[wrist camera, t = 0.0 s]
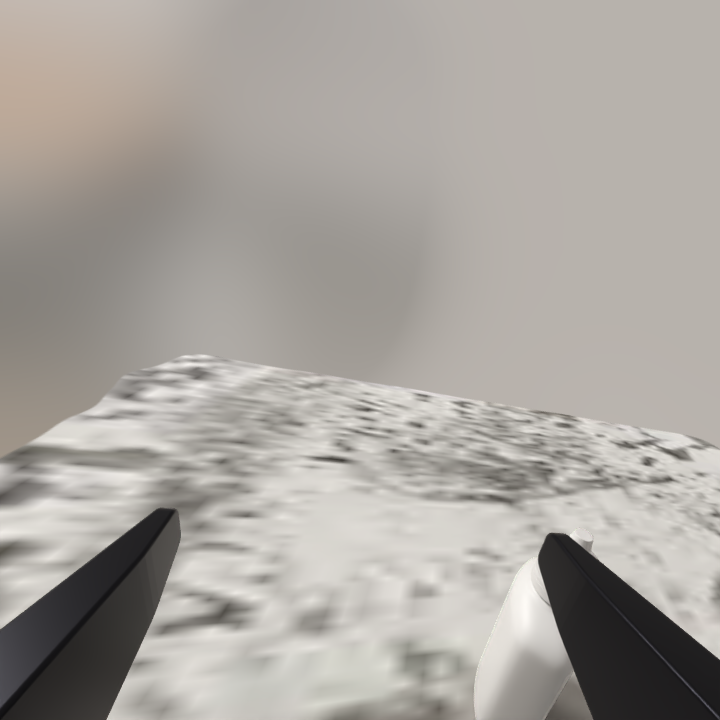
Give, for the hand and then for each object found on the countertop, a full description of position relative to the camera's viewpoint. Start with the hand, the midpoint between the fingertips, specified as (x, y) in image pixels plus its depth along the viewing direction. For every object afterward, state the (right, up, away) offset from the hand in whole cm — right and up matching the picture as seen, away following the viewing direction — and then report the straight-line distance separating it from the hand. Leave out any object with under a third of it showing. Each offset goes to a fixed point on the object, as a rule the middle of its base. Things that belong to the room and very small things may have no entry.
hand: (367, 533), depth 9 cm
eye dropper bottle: (+8, -14, +12) cm, 20 cm away
